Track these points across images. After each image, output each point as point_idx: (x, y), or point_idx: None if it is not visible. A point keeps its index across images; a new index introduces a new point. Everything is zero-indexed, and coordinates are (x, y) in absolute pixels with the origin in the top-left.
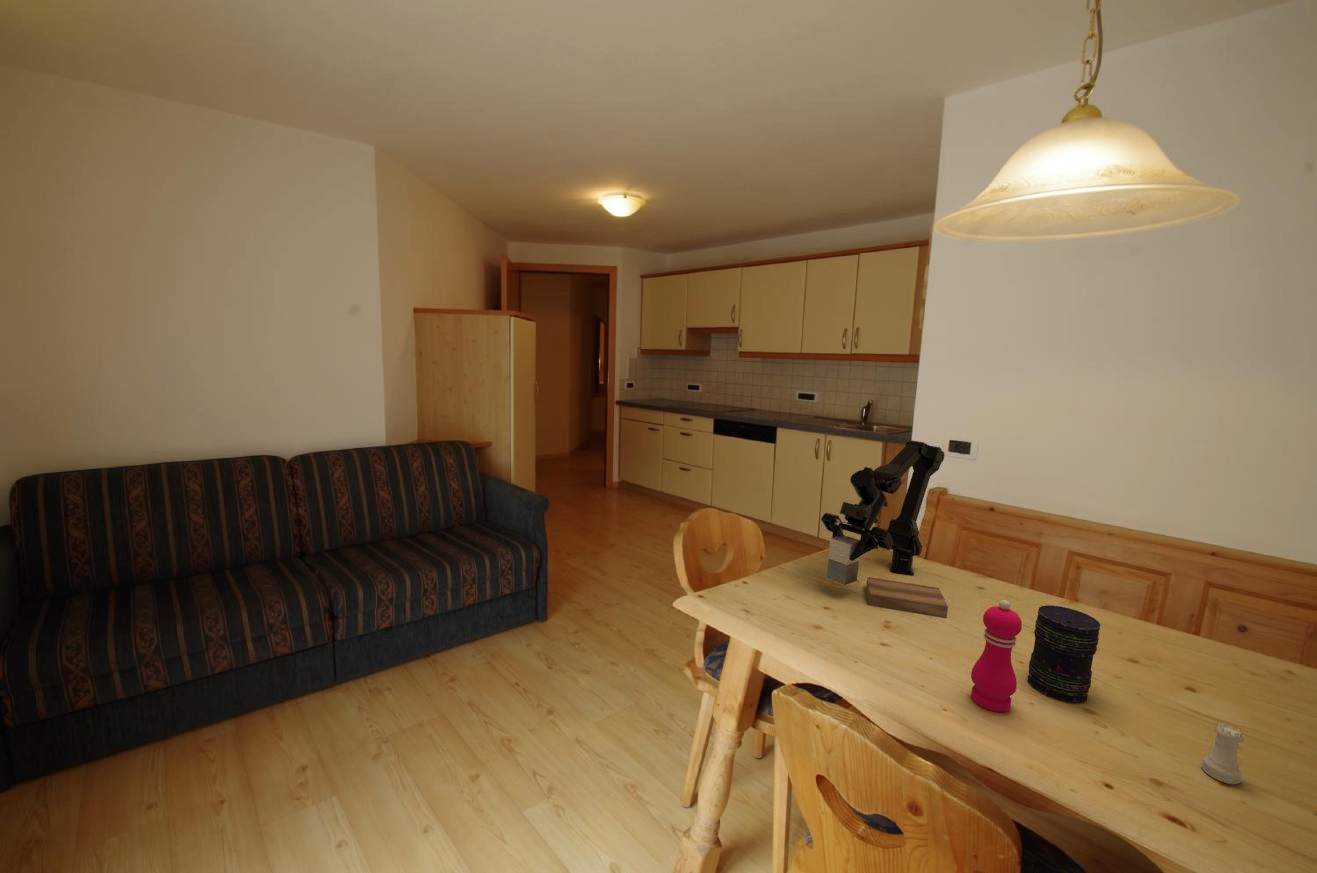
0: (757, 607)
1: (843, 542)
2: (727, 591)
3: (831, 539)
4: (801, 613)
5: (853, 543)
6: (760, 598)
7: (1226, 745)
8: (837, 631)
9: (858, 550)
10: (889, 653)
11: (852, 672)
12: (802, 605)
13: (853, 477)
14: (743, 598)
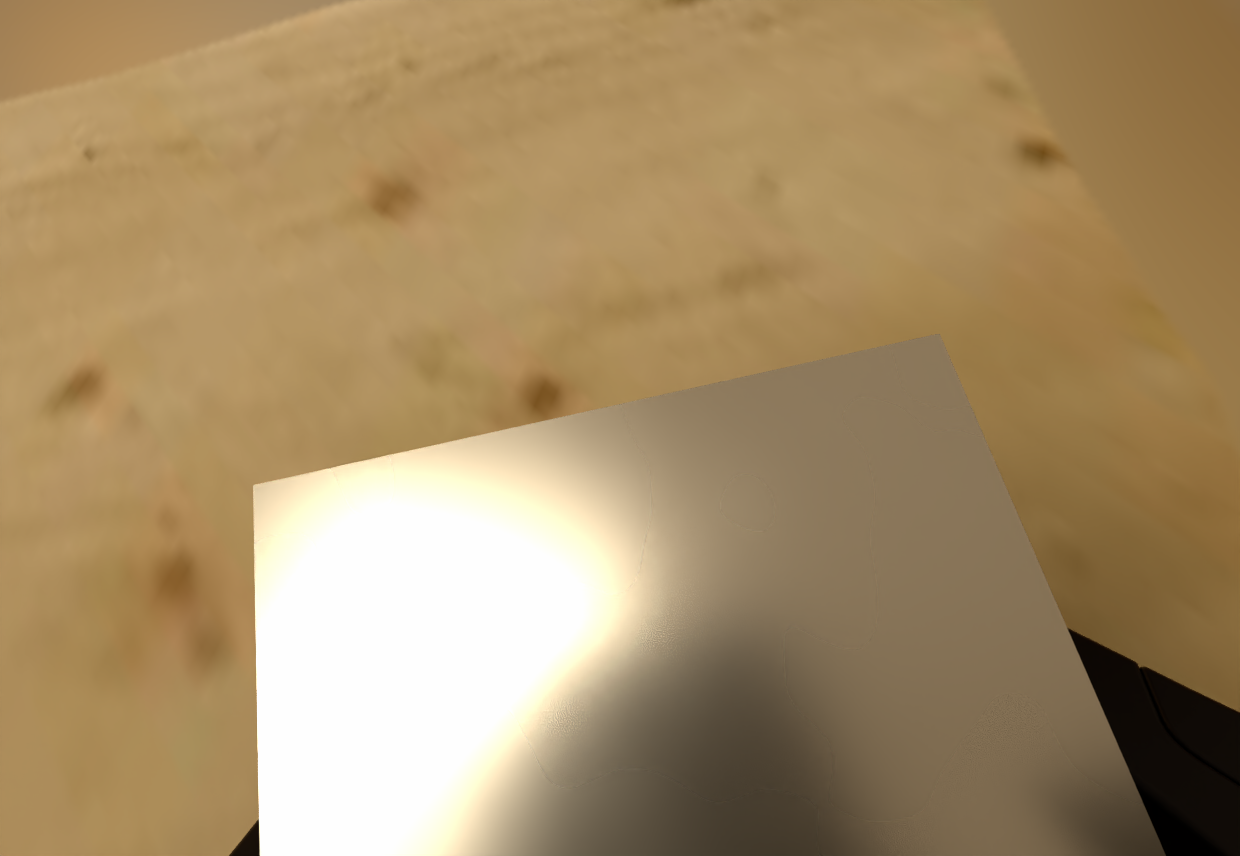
0: (699, 57)
1: (464, 446)
2: (930, 16)
3: (885, 359)
4: (549, 215)
5: (275, 772)
6: (794, 121)
7: None
8: (306, 259)
9: (258, 825)
10: (17, 343)
11: (56, 92)
12: (630, 281)
13: None
14: (821, 46)
